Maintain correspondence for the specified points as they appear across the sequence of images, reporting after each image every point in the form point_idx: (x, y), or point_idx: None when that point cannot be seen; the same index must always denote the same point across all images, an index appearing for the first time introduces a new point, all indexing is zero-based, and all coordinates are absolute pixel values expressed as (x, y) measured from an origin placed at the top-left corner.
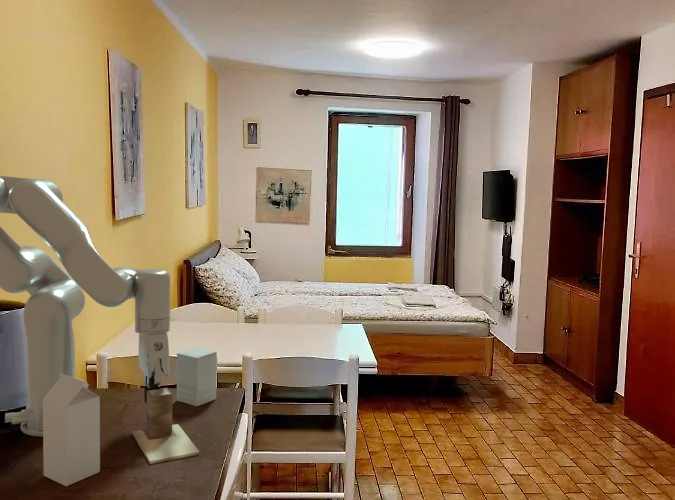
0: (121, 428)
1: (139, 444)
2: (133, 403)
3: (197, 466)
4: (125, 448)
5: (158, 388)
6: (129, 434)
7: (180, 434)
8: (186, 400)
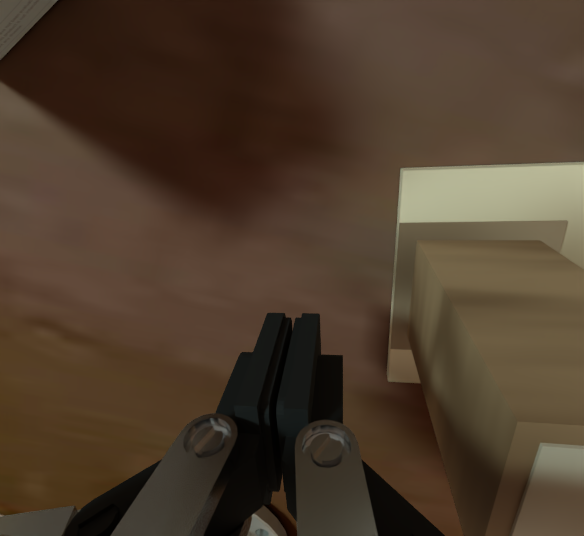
0: None
1: None
2: (23, 295)
3: None
4: None
5: (310, 405)
6: (381, 382)
7: (571, 196)
8: (27, 13)
